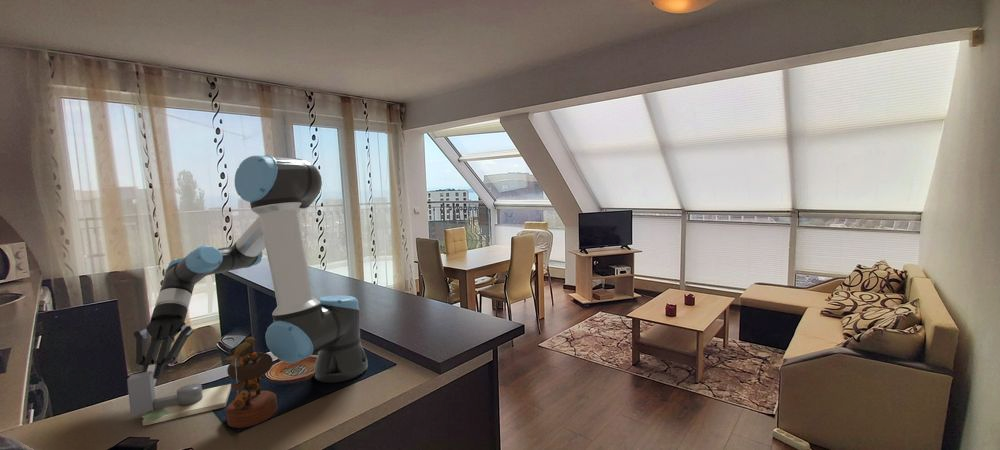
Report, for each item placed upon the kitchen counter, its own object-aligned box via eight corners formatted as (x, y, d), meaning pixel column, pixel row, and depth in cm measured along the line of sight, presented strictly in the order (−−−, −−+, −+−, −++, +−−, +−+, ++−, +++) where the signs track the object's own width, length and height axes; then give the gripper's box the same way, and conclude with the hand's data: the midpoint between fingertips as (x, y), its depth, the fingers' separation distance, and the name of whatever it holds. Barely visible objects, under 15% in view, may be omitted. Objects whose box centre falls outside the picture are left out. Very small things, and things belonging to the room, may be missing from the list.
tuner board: (231, 387, 107) (230, 383, 107) (224, 409, 97) (224, 404, 97) (153, 404, 99) (152, 399, 99) (136, 429, 89) (135, 424, 89)
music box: (270, 426, 89) (255, 345, 87) (216, 439, 86) (200, 355, 84) (288, 393, 104) (276, 322, 101) (242, 403, 101) (229, 330, 99)
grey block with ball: (203, 393, 102) (200, 359, 101) (201, 401, 98) (198, 367, 97) (135, 408, 95) (132, 373, 94) (129, 418, 91) (125, 381, 90)
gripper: (203, 311, 115) (183, 392, 101) (149, 316, 110) (121, 401, 97) (194, 299, 109) (172, 382, 96) (137, 304, 105) (105, 392, 91)
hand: (146, 392), depth 96 cm, fingers closed
